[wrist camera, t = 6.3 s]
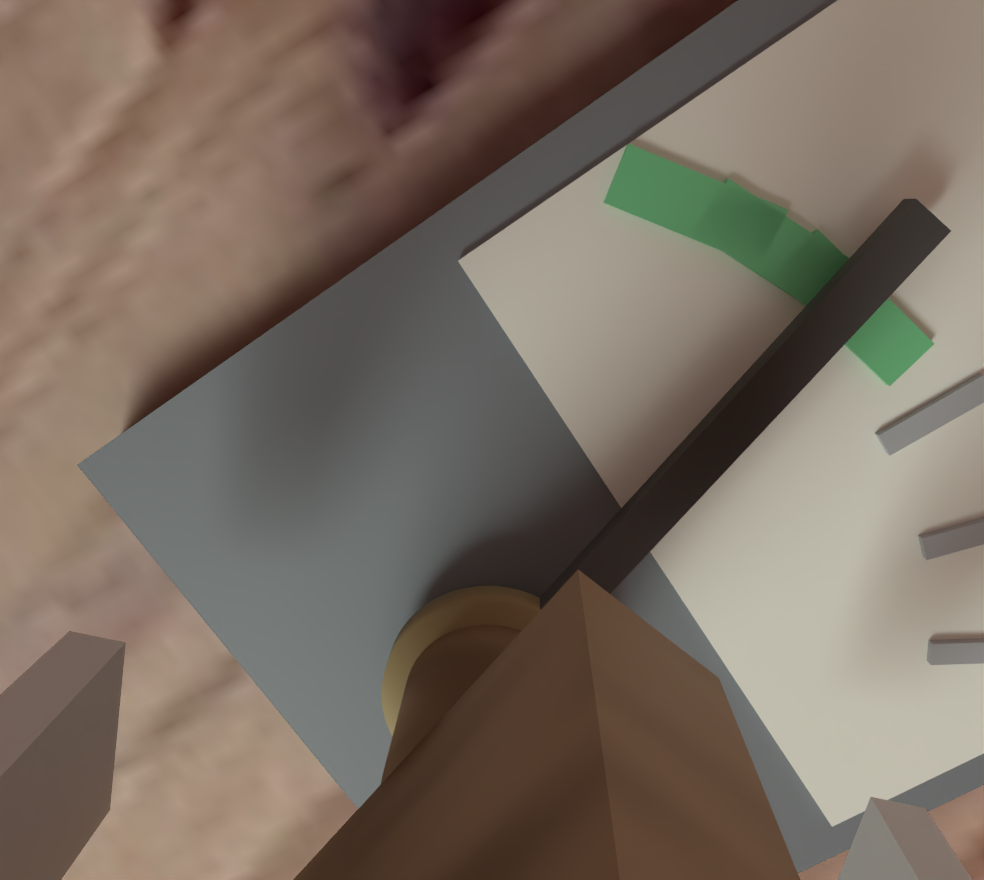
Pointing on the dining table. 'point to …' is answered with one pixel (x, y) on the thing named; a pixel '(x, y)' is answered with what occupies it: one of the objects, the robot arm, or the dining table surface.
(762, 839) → the wooden pointer lever
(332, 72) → the dining table surface
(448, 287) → the tuner board
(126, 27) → the dining table surface
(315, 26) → the dining table surface
